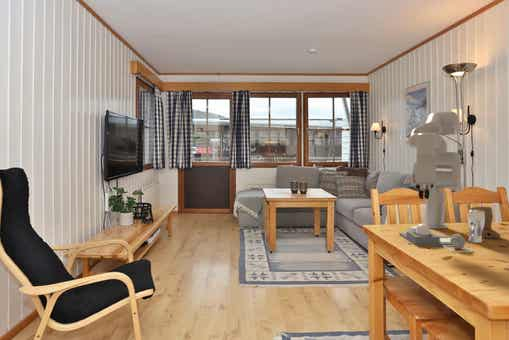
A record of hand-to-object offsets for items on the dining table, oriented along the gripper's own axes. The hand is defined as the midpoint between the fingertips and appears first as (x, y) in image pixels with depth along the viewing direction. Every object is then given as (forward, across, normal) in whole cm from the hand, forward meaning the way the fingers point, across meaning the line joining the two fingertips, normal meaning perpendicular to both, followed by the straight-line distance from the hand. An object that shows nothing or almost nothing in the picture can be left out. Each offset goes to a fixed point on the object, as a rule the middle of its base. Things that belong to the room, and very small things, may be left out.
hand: (423, 198), depth 178 cm
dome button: (+18, 0, 0) cm, 18 cm away
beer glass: (+21, -26, -2) cm, 34 cm away
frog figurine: (+21, -11, +11) cm, 26 cm away
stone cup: (+21, -37, -14) cm, 45 cm away
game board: (+21, -5, 0) cm, 22 cm away
